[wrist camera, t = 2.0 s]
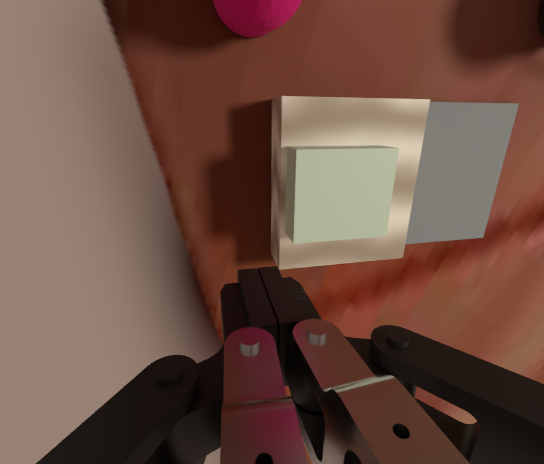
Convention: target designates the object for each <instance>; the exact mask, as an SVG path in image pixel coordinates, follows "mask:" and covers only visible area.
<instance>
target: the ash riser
mask: <svg viewBox="0 0 544 464" xmlns="http://www.w3.org/2000/svg"><path fill="white" fill-rule="evenodd" d="M429 104H430V99H387V98H342V97H297V96H281V97H277V98H274V99H272V162H271V254H272V256H273V258H274V260H275V262H276V264H277V266H278V268H279V269H290V268H300V267H311V266H321V265H332V264H342V263H353V262H363V261H374V260H384V259H395V258H403V254H404V248H405V242H406V236H407V231H408V225H409V219H410V213H411V208H412V202H413V196H414V190H415V185H416V179H417V173H418V167H419V161H420V156H421V150H422V144H423V138H424V133H425V127H426V121H427V115H428V109H429ZM357 145H382V146H389V147H395V148H399V153H398V160H397V166H396V173H395V180H394V187H393V193H392V200H391V207H390V214H389V220H388V227H387V234H386V237H373V238H361V239H348V240H335V241H323V242H310V243H297V244H293V243H292V241H291V240H290V238H289V237H288V236H287V234H286V233H285V204H286V159H287V146H357Z"/></svg>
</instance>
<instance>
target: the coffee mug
mask: <svg viewBox="0 0 544 464" xmlns="http://www.w3.org/2000/svg"><path fill="white" fill-rule="evenodd" d="M538 22H539V28H540V32H541V34H542V36H543V37H544V0H542V1H541V4H540V8H539V16H538Z"/></svg>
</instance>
